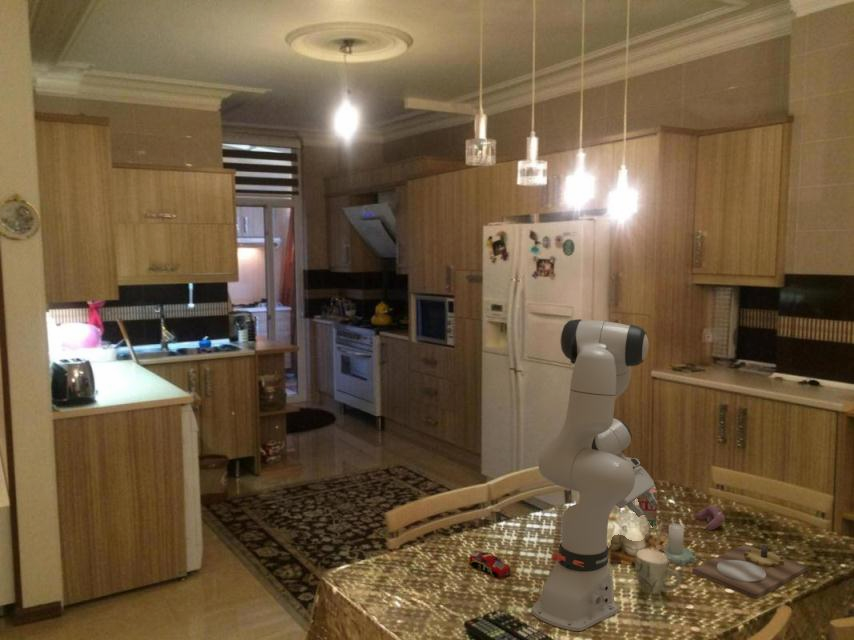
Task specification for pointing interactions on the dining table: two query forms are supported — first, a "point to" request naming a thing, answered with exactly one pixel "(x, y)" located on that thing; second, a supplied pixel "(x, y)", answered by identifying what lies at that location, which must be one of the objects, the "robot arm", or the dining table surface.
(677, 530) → the loose gear
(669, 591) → the dining table surface
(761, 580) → the gear board
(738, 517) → the dining table surface
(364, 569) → the dining table surface
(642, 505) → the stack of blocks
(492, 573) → the race car
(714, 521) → the purple curved piece
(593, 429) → the robot arm
